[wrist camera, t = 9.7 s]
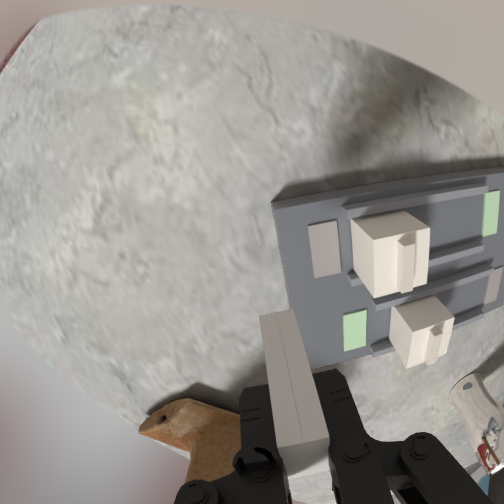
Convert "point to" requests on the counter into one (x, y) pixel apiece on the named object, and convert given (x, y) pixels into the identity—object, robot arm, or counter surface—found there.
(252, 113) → the counter surface
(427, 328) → the tab
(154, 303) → the counter surface
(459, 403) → the beer glass
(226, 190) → the counter surface
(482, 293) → the switch board
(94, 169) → the counter surface
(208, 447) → the clay platform pipe
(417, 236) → the tab
